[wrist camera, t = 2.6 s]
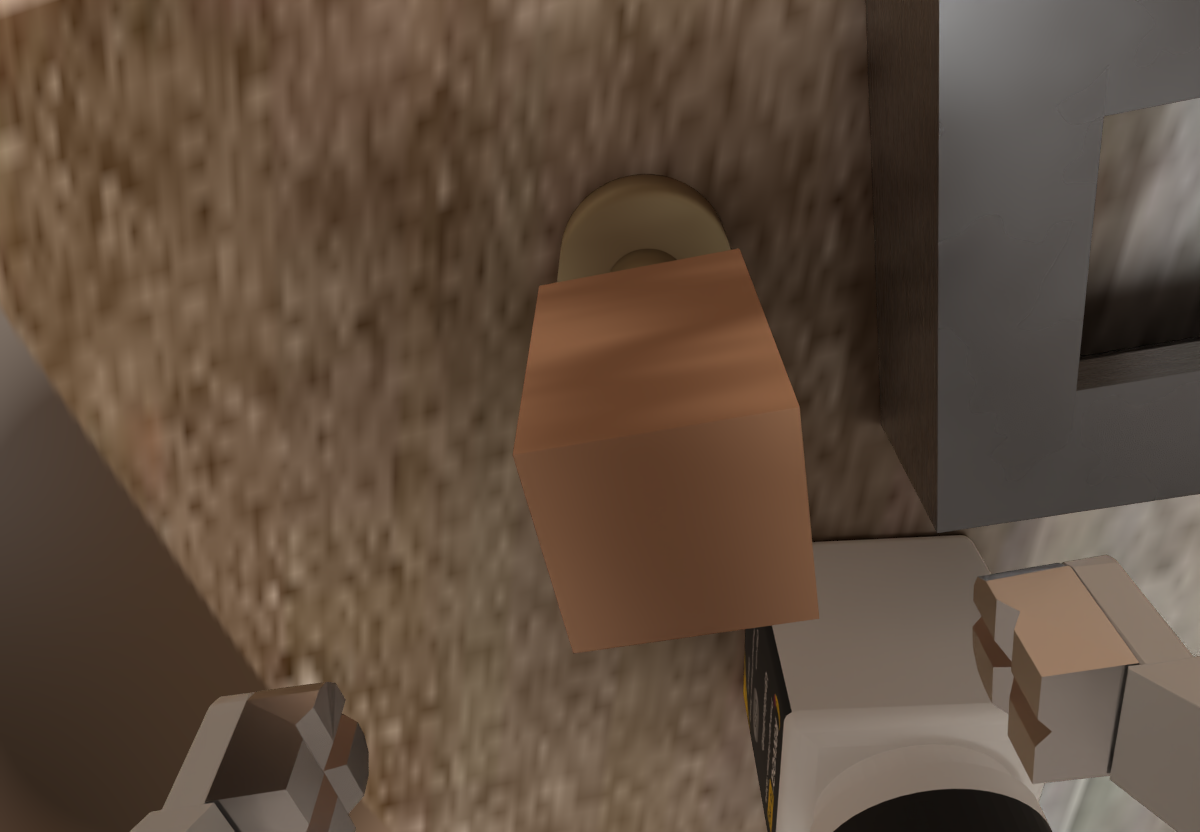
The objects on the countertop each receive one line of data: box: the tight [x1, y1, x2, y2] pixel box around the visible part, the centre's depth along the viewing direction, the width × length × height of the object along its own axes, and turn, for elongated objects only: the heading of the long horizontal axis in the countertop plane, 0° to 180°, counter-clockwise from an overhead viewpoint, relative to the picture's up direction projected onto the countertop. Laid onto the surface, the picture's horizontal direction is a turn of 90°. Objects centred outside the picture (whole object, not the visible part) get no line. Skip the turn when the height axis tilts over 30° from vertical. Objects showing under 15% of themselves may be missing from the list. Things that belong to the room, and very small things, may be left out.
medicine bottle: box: [743, 535, 1052, 832], centre depth 24 cm, size 7×7×12 cm
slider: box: [513, 174, 819, 653], centre depth 18 cm, size 4×4×12 cm
